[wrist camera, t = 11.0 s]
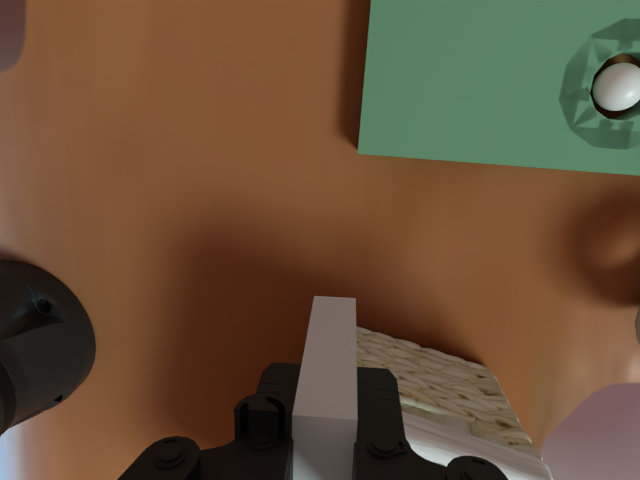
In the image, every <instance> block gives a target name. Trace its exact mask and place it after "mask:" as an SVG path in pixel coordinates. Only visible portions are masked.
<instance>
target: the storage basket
mask: <svg viewBox="0 0 640 480" xmlns="http://www.w3.org/2000/svg"><path fill="white" fill-rule="evenodd" d="M356 345H357V367H370V368H386V369H389V370H390V371H391V373H392V374H393V375H394V376H395V377H396V379H397V384H398V393H399V397H400V404H401V411H402V417H403V424H404V430H405V437H406V440H407V441H408V442H409V444H410V446H411V448H412V450H413V451H414V452H416V453H417V454H418V455H420V456H421V457H423V458H424V459H426V460H429V461H431V462H434V463H437V464H440V465H443V466H446V467H447V465H448V463H449V462H450V461H451V460H452V459H454V458H456V457H460V456H463V455H464V456H476V457H479V458H483V459H486V460H488V461H489V462H491V463H493V464H494V465H496V466H497V467H498V468H499V469H500V470H501V471H502V472H503V473H504V474H505V475H506V477H507V478H508V480H553V478H552V475H551V473H550V470H549V467H548V466H547V465H546V464H545V463H544V462H543V461H542V460H543V458H542V456H541V454H540V453H539V451H538V449H537V447H536V446H535V445H533V444H531V439H530V438H529V436H528V435H527V433H526V432H525V431H524V430H523V428H522V426H521V424H520V422H519V419H518V417H517V415H516V414H515V412H514V411H513V410H512V408H511V406H510V404H509V402H508V399H507V397H506V396H505V395H504V393H503V391H502V389H501V387H500V386H499V383H498V381H497V378H496V377H494V374H493V373H492V371H490V370H489V369H487V368H485V367H484V366H482V365H480V364H477V363H473V362H469V361H465V360H464V359H462V358H459V357H456V356H452V355H447V354H444V353H442V352H440V351H438V350H434V349H431V348H422V347H420V346H419V345H418V344H416V343H413V342H410V341H407V340H402V339H395V338H392V337H391V336H388V335H386V334H383V333H379V332H372V331H370V330H368V329H365V328H362V327H357V326H356Z"/></svg>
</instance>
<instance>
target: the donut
mask: <svg viewBox="0 0 640 480" xmlns="http://www.w3.org/2000/svg"><path fill="white" fill-rule="evenodd" d="M635 329H636V337H637V341H638V342H639V344H640V306H639V309H638V313H637V316H636V320H635Z"/></svg>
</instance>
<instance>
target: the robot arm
mask: <svg viewBox="0 0 640 480" xmlns="http://www.w3.org/2000/svg"><path fill="white" fill-rule="evenodd" d="M95 351H96V345H95V336H94V331H93V328H92V325H91V322H90V319H89V317H88V315H87V313H86V311H85V310H84V308H83V306H82V305H81V303H80V302H79V301H78V299H77V298H76V297H75V296H74V294H73V293H72V292H71V291H70V290H69V289H68V288H67V287H66V286H65V285H63V284H62V283H61V282H60V281H58V280H57V279H56V278H54V277H53V276H51V275H50V274H48V273H46V272H44V271H42V270H40V269H38V268H36V267H34V266H31V265H28V264H24V263H21V262H16V261H7V260H0V436H1V435H2V434H3V433H4V432H5V431H6V430H7V429H9V428H11V427H13V426H15V425H17V424H19V423H21V422H23V421H25V420H28V419H30V418H32V417H34V416H36V415H38V414H40V413H42V412H43V411H45V410H48V409H50V408H52V407H54V406H56V405H58V404H60V403H61V402H63V401H64V400H65V399H67V398H68V397H69V396H70V395H71V394H72V393H73V392H74V391H75V390H76V389H77V388H78V387H79V386H80V385H81V384H82V383H83V382H84V380H85V379H86V378H87V376H88V375H89V373H90V371H91V369H92V366H93V363H94V359H95ZM234 419H235V440H234V441H232V442H231V443H228V444H226V445H224V446H220V447H217V448H212V449H206V450H200V448H199V446H198V445H197V444H196V442H195V441H193V440H191V439H189V438H187V437H179V436H174V437H168V438H163V439H161V440H159V441H157V442H154V443H153V444H152V445H150V446H149V447H148V448H146V449H145V450H144V451H143V452H142V454H141V455H140V456H139V457H138V458H137V459H136V460H135V461H134V462H133V463H132V464H131V465H130V467H129V468H128V469H127V470H126V471H125V472H124V473H123V474H122V475H121V476H120V477H119V478H118V480H508V478H507V477H506V475H505V474H504V473H503V472H502V471H501V470H500V469H499V468H498V467H497V466H496V465H494V464H493V463H491V462H489V461H488V460H486V459H483V458H479V457H476V456H464V455H463V456H460V457H456V458H454V459H452V460H451V461H450V462H449V463H448V465H447V467H446V466H443V465H440V464H437V463H434V462H431V461H429V460H426V459H424V458H423V457H421V456H420V455H418V454H417V453H416V452H414V451H413V450H412V448H411V446H410V444H409V442H408V441H407V440H406V437H405V430H404V424H403V417H402V411H401V404H400V397H399V393H398V384H397V379H396V377H395V376H394V375H393V374H392V373H391V371H390V370H389V369H386V368H370V367H357V345H356V298H344V297H326V296H314V300H313V305H312V310H311V316H310V321H309V327H308V332H307V338H306V343H305V348H304V354H303V359H302V364H287V363H271V364H270V365H269V366H268V367H267V368H266V369H265V370H264V371H263V372H262V375H261V379H260V382H259V385H258V388H257V391H256V394H254V395H251V396H248V397H246V398H244V399H243V400H241V401H239V402H238V404H237V405H236V407H235V408H234Z"/></svg>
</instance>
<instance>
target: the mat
mask: <svg viewBox="0 0 640 480" xmlns="http://www.w3.org/2000/svg"><path fill="white" fill-rule="evenodd" d="M618 54H629V55H630V56H632V57H633V58H634V59H636V60H637V61H638V62H640V0H371V7H370V18H369V29H368V41H367V52H366V64H365V75H364V86H363V98H362V109H361V121H360V132H359V143H358V154H369V155H382V156H395V157H408V158H420V159H433V160H446V161H459V162H472V163H485V164H498V165H511V166H524V167H537V168H549V169H562V170H575V171H588V172H601V173H614V174H627V175H640V100H639V101H638V102H637V103H636V104H635V105H634V107H633V108H632V109H631V110H630V111H629V112H627V113H624V114H622V115H620V116H618V117H615V118H613V119H609V118H606V117H605V116H603V115H602V114H601V113H599V112H598V111H597V110H595V107H594V104H593V101H592V98H591V95H590V91H591V87H592V82H593V78H594V75H595V74H596V72H597V71H598V70H599V69H600V67H601V66H602V65H603V64H604V63H605V61H606V60H607V59H609V58H611V57H614V56H616V55H618Z"/></svg>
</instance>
